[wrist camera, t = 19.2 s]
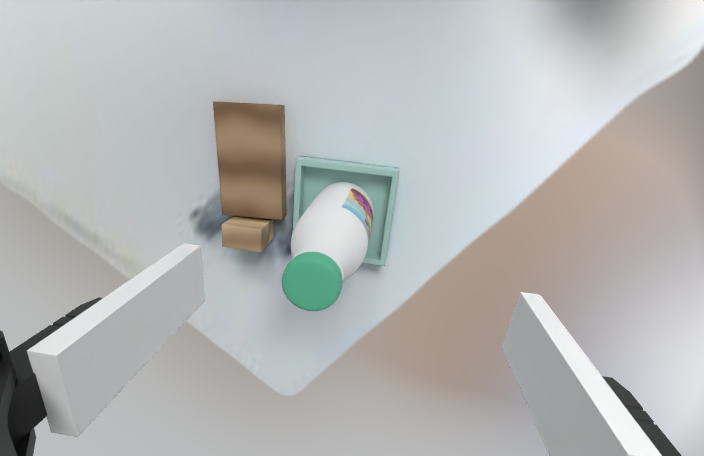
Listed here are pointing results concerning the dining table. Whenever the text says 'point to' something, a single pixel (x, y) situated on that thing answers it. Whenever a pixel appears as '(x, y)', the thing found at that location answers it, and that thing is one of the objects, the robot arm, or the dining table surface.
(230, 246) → the block
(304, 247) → the milk bottle
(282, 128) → the tan wooden board
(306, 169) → the tray
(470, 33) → the dining table surface
